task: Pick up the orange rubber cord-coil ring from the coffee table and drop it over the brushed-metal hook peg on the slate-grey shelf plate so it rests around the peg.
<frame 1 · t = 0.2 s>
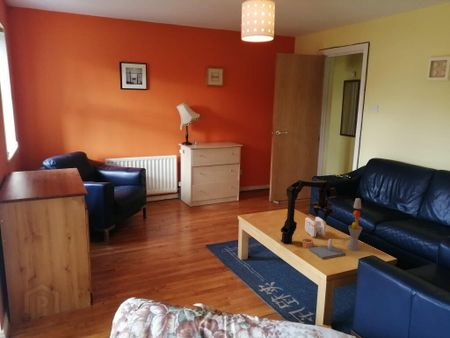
hand: (320, 218, 254), 14 cm above the table, fingers open, 9 cm apart
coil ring: (307, 246, 241), on the table
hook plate: (326, 252, 232), on the table
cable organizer: (314, 234, 263), on the table
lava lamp: (353, 248, 240), on the table
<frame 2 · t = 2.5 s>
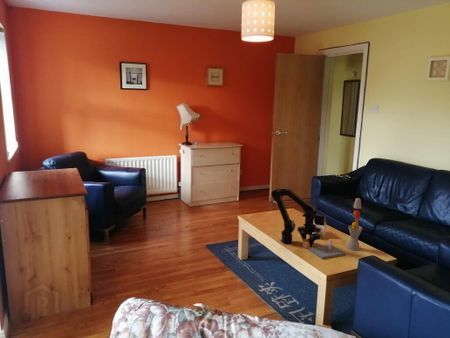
hand: (307, 244, 241), 1 cm above the table, fingers closed on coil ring, 7 cm apart
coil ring: (307, 246, 241), on the table, touching gripper
everything else where it was.
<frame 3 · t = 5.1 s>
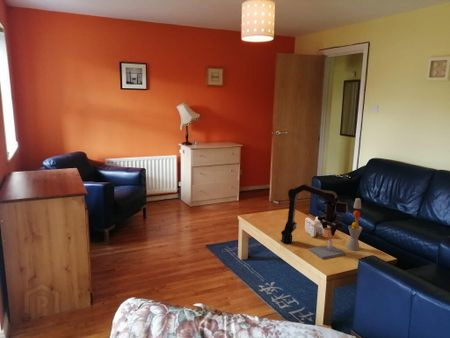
hand: (329, 233, 231), 13 cm above the table, fingers closed on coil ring, 7 cm apart
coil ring: (329, 235, 231), point 12 cm above the table, touching gripper
everything else where it was.
when the fingers open (4 cm above the table, at t = 7.6 s): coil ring drops 2 cm, resting on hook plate.
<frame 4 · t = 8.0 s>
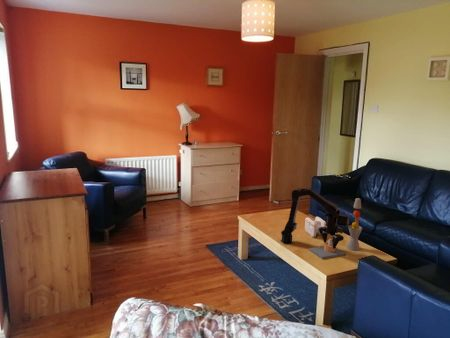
hand: (329, 245, 231), 4 cm above the table, fingers open, 9 cm apart
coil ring: (329, 250, 232), point 1 cm above the table, touching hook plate
everything else where it was.
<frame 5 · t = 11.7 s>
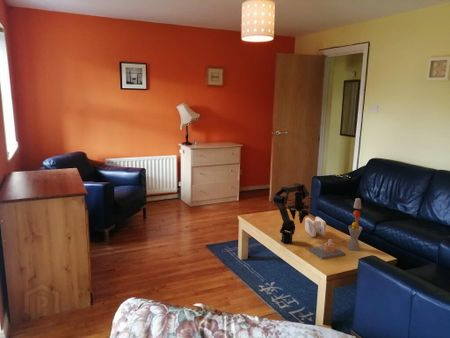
hand: (297, 221, 255), 12 cm above the table, fingers open, 9 cm apart
nothing on the table moved.
at the end: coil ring 0.0 cm from the target spot on the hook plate, point 1.5 cm above the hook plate's base; the gripper is holding nothing; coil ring tilted 0° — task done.
